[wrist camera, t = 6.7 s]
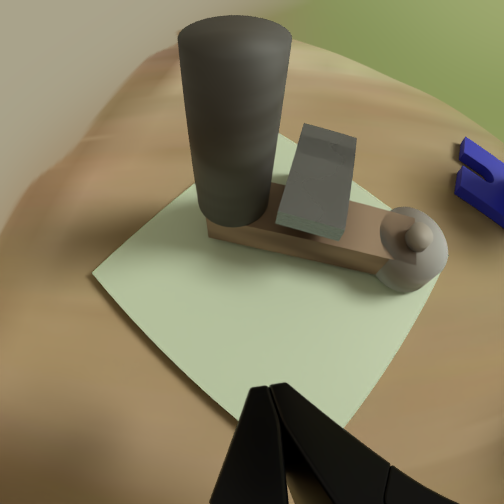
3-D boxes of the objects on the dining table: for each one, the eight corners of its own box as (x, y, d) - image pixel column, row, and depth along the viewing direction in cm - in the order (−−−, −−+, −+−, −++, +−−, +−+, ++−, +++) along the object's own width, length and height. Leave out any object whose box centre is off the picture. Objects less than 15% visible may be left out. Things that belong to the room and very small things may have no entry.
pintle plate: (303, 470, 13) (306, 472, 13) (95, 276, 17) (91, 272, 17) (444, 259, 19) (448, 255, 18) (268, 133, 23) (269, 127, 23)
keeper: (335, 192, 21) (356, 138, 16) (318, 275, 18) (344, 230, 14) (291, 179, 21) (303, 123, 17) (267, 261, 18) (277, 211, 14)
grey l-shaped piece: (429, 234, 19) (528, 108, 9) (431, 298, 17) (566, 184, 7) (213, 183, 19) (204, 9, 10) (190, 245, 17) (152, 60, 8)
